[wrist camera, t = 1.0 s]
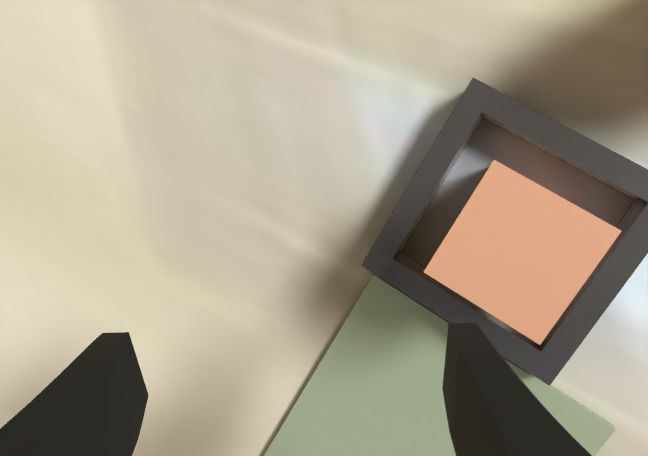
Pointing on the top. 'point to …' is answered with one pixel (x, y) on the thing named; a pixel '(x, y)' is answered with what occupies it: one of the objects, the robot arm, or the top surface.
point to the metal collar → (560, 141)
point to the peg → (520, 251)
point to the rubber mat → (397, 388)
